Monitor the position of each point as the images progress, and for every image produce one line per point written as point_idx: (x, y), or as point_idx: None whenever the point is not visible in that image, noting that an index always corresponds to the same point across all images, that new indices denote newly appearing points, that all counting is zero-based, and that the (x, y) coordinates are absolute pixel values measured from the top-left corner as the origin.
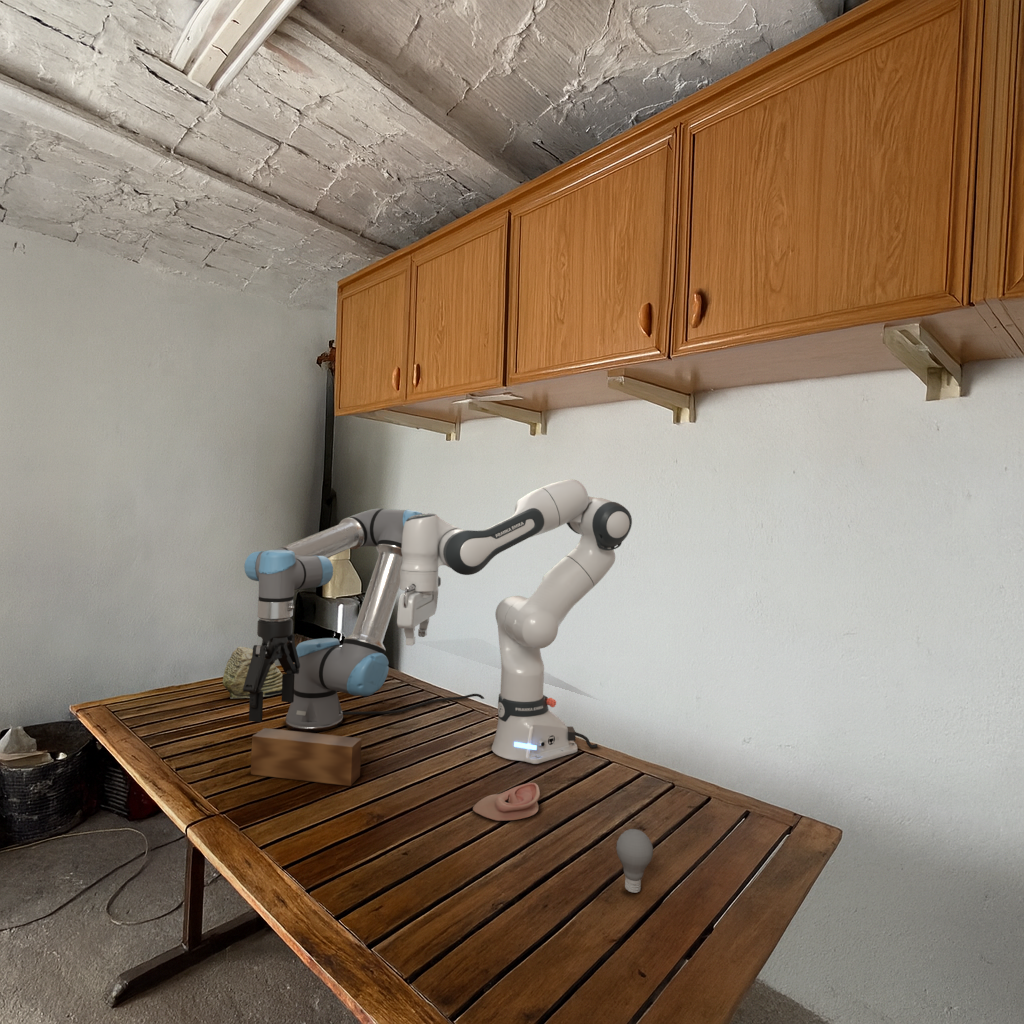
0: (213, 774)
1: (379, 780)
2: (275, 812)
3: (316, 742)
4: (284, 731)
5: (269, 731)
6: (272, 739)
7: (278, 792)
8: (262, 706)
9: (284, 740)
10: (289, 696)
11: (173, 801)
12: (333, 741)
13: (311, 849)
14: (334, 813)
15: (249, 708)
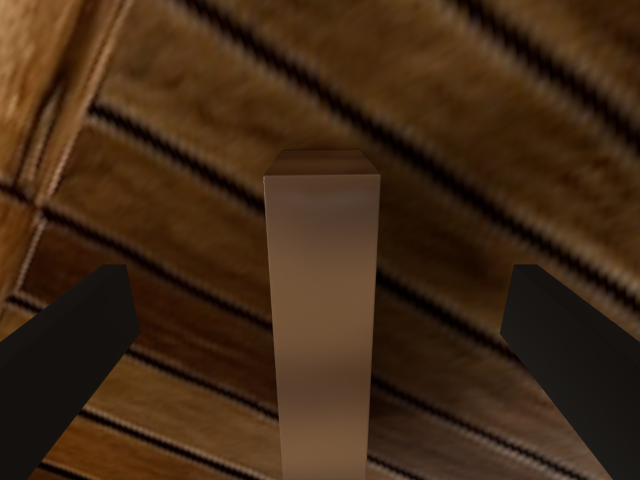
0: (242, 15)
1: None
2: None
3: (284, 432)
4: (358, 283)
5: (341, 222)
6: (269, 273)
7: (205, 287)
8: (82, 403)
9: (273, 323)
10: (523, 341)
11: (21, 16)
12: (310, 471)
13: None
14: (164, 434)
15: (44, 309)
